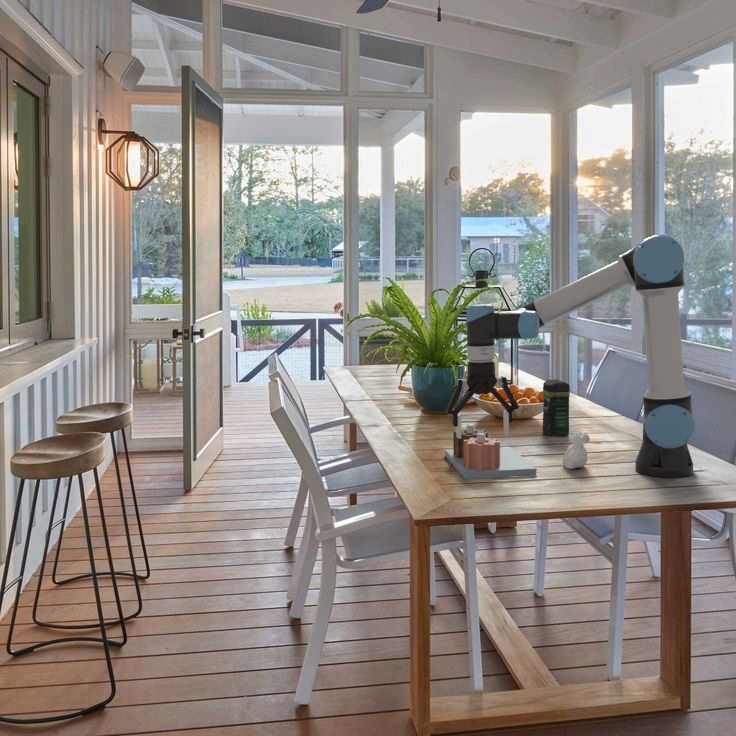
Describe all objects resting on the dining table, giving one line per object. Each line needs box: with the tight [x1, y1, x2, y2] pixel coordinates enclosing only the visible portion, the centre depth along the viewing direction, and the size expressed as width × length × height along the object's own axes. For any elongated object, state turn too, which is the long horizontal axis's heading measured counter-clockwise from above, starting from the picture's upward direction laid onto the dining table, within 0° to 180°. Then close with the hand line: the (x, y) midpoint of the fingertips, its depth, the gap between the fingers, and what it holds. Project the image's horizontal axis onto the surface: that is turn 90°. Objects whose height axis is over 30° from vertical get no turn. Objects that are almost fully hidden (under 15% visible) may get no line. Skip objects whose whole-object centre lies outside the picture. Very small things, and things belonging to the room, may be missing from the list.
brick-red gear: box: [464, 437, 501, 470], centre depth 222 cm, size 10×10×7 cm
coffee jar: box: [542, 378, 571, 437], centre depth 267 cm, size 10×8×19 cm
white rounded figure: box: [561, 430, 591, 470], centre depth 226 cm, size 12×8×11 cm
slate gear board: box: [444, 424, 537, 480], centre depth 229 cm, size 26×20×11 cm
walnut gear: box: [452, 428, 489, 458], centre depth 234 cm, size 10×10×7 cm
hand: (482, 436), depth 221 cm, fingers open, 13 cm apart
